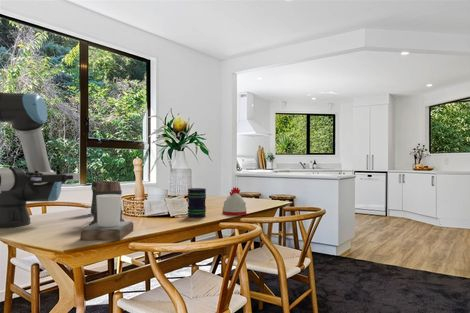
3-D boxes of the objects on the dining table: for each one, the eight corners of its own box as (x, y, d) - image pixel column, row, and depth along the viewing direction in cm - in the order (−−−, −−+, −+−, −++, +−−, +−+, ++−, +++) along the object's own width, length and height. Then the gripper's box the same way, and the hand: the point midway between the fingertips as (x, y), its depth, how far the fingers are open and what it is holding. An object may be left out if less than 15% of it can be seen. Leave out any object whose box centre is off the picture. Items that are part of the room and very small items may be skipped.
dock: (80, 239, 133) (80, 229, 133) (98, 230, 151) (98, 221, 151) (120, 240, 133) (120, 229, 133) (133, 230, 151) (133, 221, 151)
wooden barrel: (94, 215, 192) (94, 181, 192) (89, 213, 197) (89, 180, 198) (111, 213, 198) (112, 180, 198) (105, 212, 204) (106, 180, 204)
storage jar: (184, 217, 187) (184, 189, 187) (191, 214, 196) (191, 188, 197) (202, 218, 184) (202, 189, 185) (208, 215, 194) (208, 188, 194)
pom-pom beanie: (251, 213, 204) (251, 187, 204) (235, 216, 194) (235, 188, 194) (234, 210, 213) (234, 186, 213) (217, 213, 203) (217, 187, 203)
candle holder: (113, 228, 136) (113, 197, 136) (90, 226, 138) (90, 196, 138) (126, 223, 146) (126, 194, 146) (104, 222, 148) (105, 194, 148)
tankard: (132, 225, 164) (133, 182, 164) (96, 229, 152) (96, 183, 153) (112, 218, 181) (113, 180, 181) (78, 222, 170) (79, 181, 170)
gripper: (-12, 188, 121) (46, 184, 140) (31, 193, 109) (89, 187, 128) (-12, 166, 121) (46, 165, 140) (31, 169, 109) (89, 167, 128)
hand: (67, 175), depth 134 cm, fingers open, 13 cm apart
